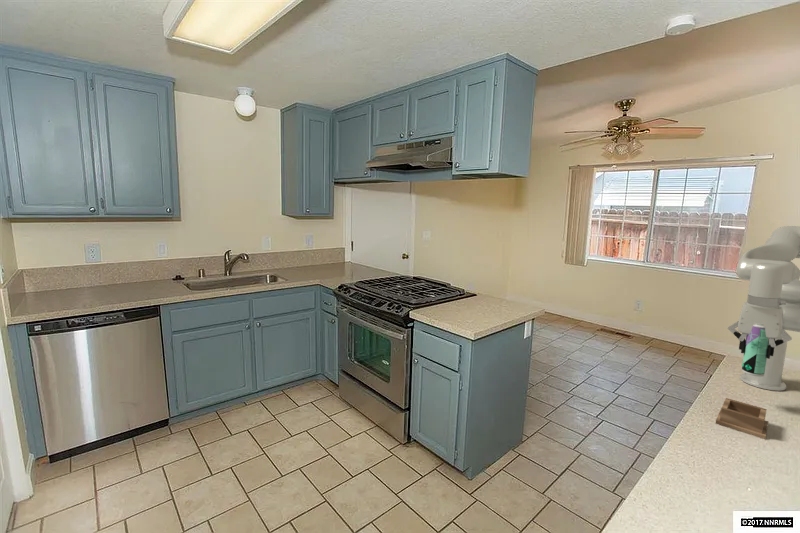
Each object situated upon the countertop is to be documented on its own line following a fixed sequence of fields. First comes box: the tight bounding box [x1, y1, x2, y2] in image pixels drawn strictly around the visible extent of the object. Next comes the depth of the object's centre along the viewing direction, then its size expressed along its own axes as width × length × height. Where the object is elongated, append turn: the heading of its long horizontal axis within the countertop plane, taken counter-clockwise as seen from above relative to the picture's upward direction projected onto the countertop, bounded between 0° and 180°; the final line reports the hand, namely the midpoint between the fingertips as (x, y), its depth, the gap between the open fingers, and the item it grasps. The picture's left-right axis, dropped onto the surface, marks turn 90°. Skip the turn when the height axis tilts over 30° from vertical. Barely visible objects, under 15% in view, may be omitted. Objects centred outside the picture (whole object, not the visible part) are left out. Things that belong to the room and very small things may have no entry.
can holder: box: [715, 397, 769, 440], centre depth 114 cm, size 11×11×5 cm
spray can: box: [741, 323, 769, 376], centre depth 122 cm, size 6×6×20 cm
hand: (755, 354), depth 122 cm, fingers closed on spray can, 5 cm apart
